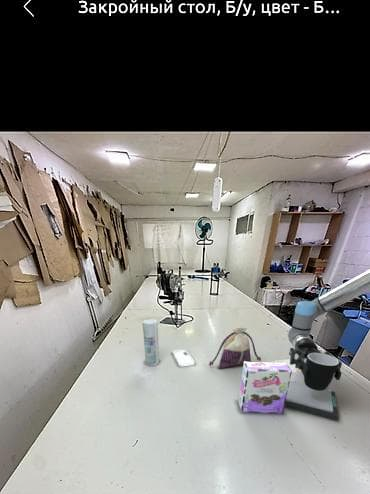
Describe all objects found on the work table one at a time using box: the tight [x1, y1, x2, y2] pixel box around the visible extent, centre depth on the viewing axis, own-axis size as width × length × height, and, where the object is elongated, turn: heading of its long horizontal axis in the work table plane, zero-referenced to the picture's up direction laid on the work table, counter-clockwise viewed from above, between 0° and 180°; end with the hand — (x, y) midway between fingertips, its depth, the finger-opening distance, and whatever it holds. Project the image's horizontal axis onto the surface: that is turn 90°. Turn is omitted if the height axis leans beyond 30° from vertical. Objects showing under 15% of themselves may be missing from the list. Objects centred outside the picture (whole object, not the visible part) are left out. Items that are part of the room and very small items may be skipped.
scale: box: [284, 380, 339, 422], centre depth 83 cm, size 16×15×3 cm
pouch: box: [208, 327, 262, 369], centre depth 104 cm, size 25×8×19 cm, turn 110°
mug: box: [303, 352, 340, 391], centre depth 79 cm, size 12×9×10 cm
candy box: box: [237, 361, 293, 414], centre depth 77 cm, size 14×6×16 cm, turn 88°
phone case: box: [172, 349, 196, 368], centre depth 113 cm, size 7×1×15 cm
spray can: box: [142, 318, 160, 366], centre depth 106 cm, size 6×6×20 cm
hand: (322, 374), depth 74 cm, fingers closed on mug, 9 cm apart
